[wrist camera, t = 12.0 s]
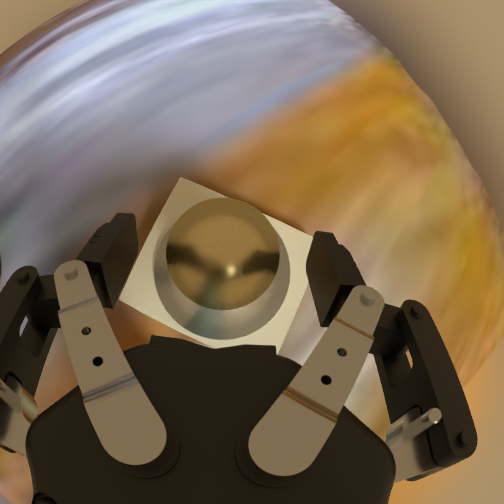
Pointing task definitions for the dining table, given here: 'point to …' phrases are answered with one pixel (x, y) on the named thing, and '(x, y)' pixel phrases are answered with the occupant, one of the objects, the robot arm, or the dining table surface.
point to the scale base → (142, 275)
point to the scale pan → (220, 321)
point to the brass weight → (222, 253)
